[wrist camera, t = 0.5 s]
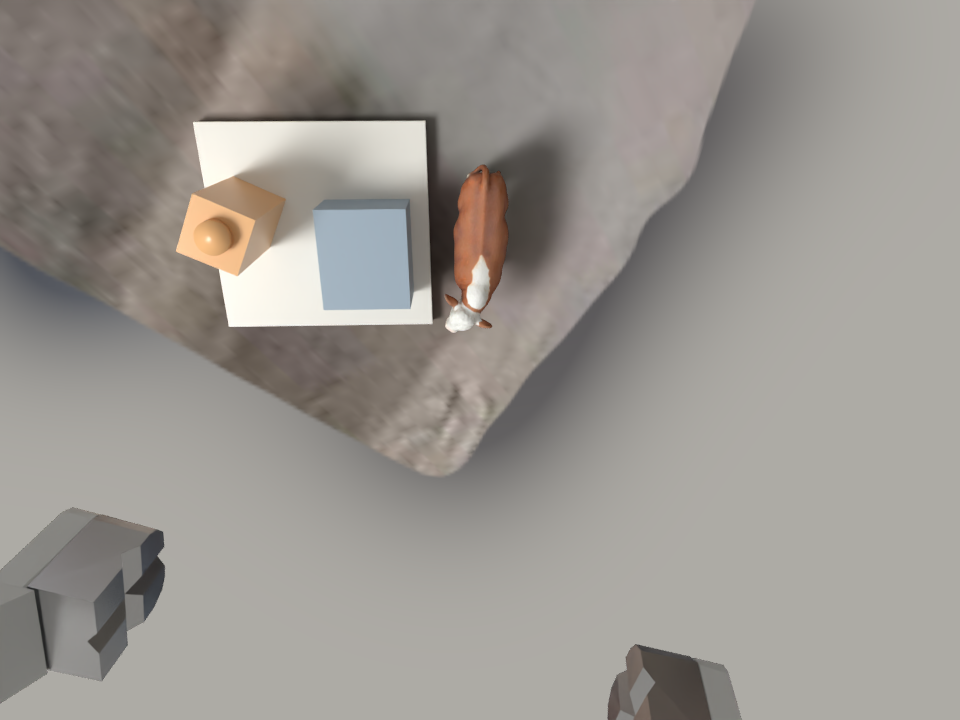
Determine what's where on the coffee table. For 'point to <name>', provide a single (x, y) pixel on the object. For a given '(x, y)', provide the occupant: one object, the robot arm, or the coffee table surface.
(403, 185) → the baseplate
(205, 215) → the tall brick
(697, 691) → the robot arm
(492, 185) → the bull figurine
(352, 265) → the base block
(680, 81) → the coffee table surface
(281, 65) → the coffee table surface
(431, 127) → the coffee table surface
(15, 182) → the coffee table surface
